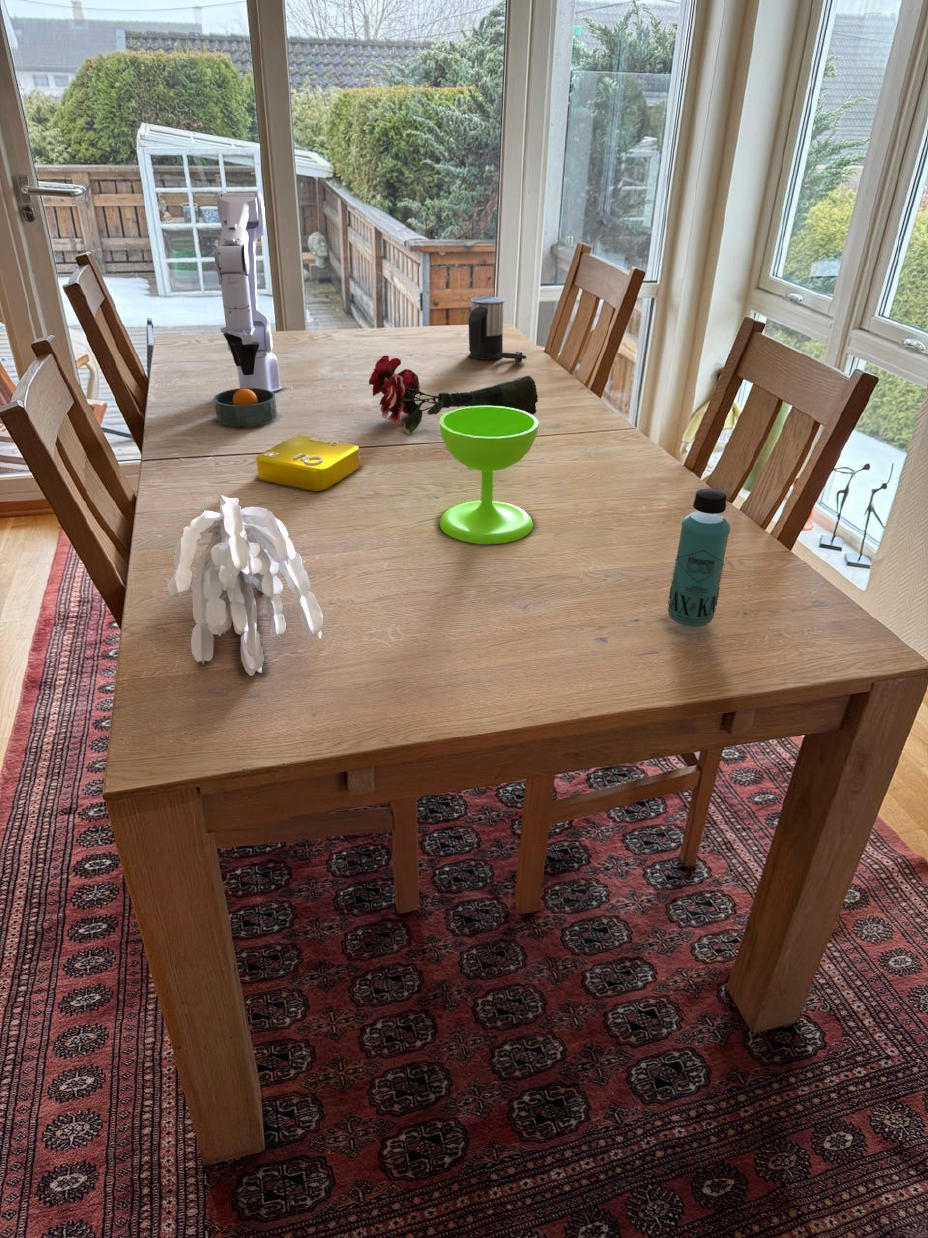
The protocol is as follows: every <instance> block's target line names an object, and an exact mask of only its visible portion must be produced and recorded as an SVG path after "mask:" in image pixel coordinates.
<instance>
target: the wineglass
mask: <svg viewBox="0 0 928 1238" xmlns="http://www.w3.org/2000/svg"><path fill="white" fill-rule="evenodd" d="M438 422H439V428H440V435H441V439H442V442H443V443H444V447H446V449H447V450H448V452H449V453H450V454H451V456H452V457H453V458H454V459H455V460H456V461H457V462H459V463H461V464H462V465H464V466H465V467H467V468H468V469H471V470H475V471H480V472H481V487H480V488H481V489H480V491H481V493H480V495H481V497H480V500H473V501H467V502H462V503H458V504H456V505H454V506H452V507H450V508H448V509H447V510H446V511H445V512H444V513H443V514H442V515H441V518H440V519H439V528H440V529H441V530H442V531H443V533H445V534H446V535H447V536H449V537H450V538H453V539H456V540H458V541H461V542H465V543H470V544H476V545H477V544H478V545H479V544H480V545H500V544H506V543H511V542H514V541H518V540H520V539H522V538H524V537H526V536H528V534H530V533H531V531H532V530H533V527H534V523H533V520H532V518H531V516H530V515H529V514H528V513H527V512H526V511H525V510H524V509H522V508H520V507H519V506H516V505H513V504H511V503H509V502H508V503H507V502H502V501H496V500H493V498H494V496H493V495H494V472H497V471H502V470H503V471H504V470H506V469H508V468H510V467H512V466H514V465H516V464H517V463H518V462H520V461H521V460H522V459H523V458H524V457H525V456H526V455H527V454H528V453H529V452H530V450H531V448H532V446H533V444H534V443H535V440H536V437H537V434H538V430H539V429H538V428H539V422H540V421H539V420H538V418H537V417H536V416H534V415H532V414H530V413H527V412H525V411H522V410H518V409H515V408H509V407H502V406H463V407H458V408H456V409H452V410H449V411H447V412H446V413H444V414H442V415H441V416H440V418H439V419H438Z"/></svg>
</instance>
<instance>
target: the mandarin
mask: <svg viewBox="0 0 928 1238" xmlns="http://www.w3.org/2000/svg"><path fill="white" fill-rule="evenodd" d="M254 404H258V399H257V396H256V395H255V393H254V392H253V391H251V390H249V389H245V388H243V389H240V390H238V391H237V392H236V393H235V394H234V396H233V405H235V406H240V405H254Z"/></svg>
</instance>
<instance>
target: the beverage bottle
mask: <svg viewBox="0 0 928 1238" xmlns="http://www.w3.org/2000/svg"><path fill="white" fill-rule="evenodd" d="M692 506H693V509H694V510H696V511H693V512H691V513H689V514H688V515H686V516H685V517H684V518H683V519H682V520H681V528H680V529H681V530H680V534H679V541H678V548H677V553H676V557H675V559H674V561H675V563H674V566H673V569H672V572H673V573H672V576H671V577H672V580H671V584H670V588H669V596H668V602H667V605H668V607H667V608H666V609H667V611H668V616H669V618H670V619H671V620H672V621H674V622H675V623H677V624H679V625H682V626H685V627H686V626H687V627H695V628H697V627H703V626H707V625H709V624H711V622H712V621H713V619H714V617H715V613H716V610H717V607H718V601H719V597H720V596H719V595H720V588H721V587H720V586H721V582H722V575H723V569H724V565H725V564H726V563H725V556H726V552H727V547H728V546H727V544H728V540H729V534H730V532H731V524H730V522H729V521H728V520H727V519H726V518H725V517H724V516H723V515H722V513H724V512H725V511H726V509H727V494H726V492H724V491H722V490H721V489H717V488H711V487H707V488H706V487H704V488H700V489H698V490H697V491H696V492H695V497H694V500H693V503H692Z"/></svg>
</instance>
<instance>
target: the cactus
mask: <svg viewBox="0 0 928 1238" xmlns="http://www.w3.org/2000/svg"><path fill="white" fill-rule="evenodd" d="M239 501H240V499H239V498H238V497H227V496H225V495H222V494H221V495H220V496H219V512H216V511H212V510H206V509H205V510H204V511H203V513H202V514H201V515H200V516H197V517H195V518H193V519H192V520H190V524H189V525H188V526H184V527H183V528H182V533H181V536H180V538H179V539H178V540H177V542H176V544H175V552H174V557H173V567H174V570H175V572H174V574H173V575H172V577H171V579H170V581H169V582H168V584H166V587H167V591H168V594H169V595H170V596H176V595H178V597H179V598H180V600H183V594H184V593H186V592H187V591H188V590H189V588H190V589H191V592H192V599H191V602H192V618H193V620H194V622H195V623H196V624H195V625H194V627H193V629H192V631H191V639H190V649H191V656H192V657H193V659H194V660H195V662H197V663H198V662H201V663H202V665H205V662H210V661H211V660H212V659H213V657H214V649H215V648H214V647H215V646H214V641H215V640H214V639H215V638H214V635H217V636H219V637H221V636H222V634H224V635H225V634H226V632H227V631H228V630H230V629H231V627H232V624H233V629H234V632H235V634H237V635H240V645H239V646H240V647H239V648H240V660H241V662H242V663H241V664H242V665H243V668H244V671H245V673H247V674H248V676H250V677H251V676H252V677H253V676H254V675H255V674H256V672H257V673H259V674H262V672H263V671H262V670H263V664H264V661H265V656H264V653H263V647H262V645H261V634H260V632H259V630H257V629H258V626H257V622H258V610H257V602H256V598H255V595H254V592H253V587H252V585H251V584H253V585H254V587H255V588H256V590H258V591H259V592H261V593H263V595H262V599H263V601H264V603H265V608H266V611H267V614H269V615H270V617H271V621H270V623H269V635H270V638H273V639H274V638H277V637H278V639H279V640H281V639H282V635H283V634H284V633H285V631H286V628H287V622H286V618H285V616H284V614H282V612H283V609H284V607H283V600H282V599H281V594H282V593H283V590H284V585H283V582H282V580H281V579H280V578H279V577H278V576H277V573H278V572H279V573H280V575H282V576H283V578H284V581H285V583H286V586H287V588H288V589H289V591H290V593H291V594H292V595H293V596H294V597H295V598H297V599H298V601H299V606H300V608H299V616H300V621H301V629H302V632H303V634H304V636H305V637H306V639H307V640H309V641H312V639H313V638H314V637H315V636H316V637H317V638H318V639H322V635H323V634H322V628H323V623H324V616H323V612H322V611H323V610H322V609H321V607H320V605H319V602H318V600H317V597H316V596H315V594H314V593H313V592H311V591H310V590H311V588H312V585H311V582H310V578H309V574H308V571H307V569H306V568H305V567H304V563H303V558H302V555H300V553H299V552H297V551H295V547H294V543H293V542H292V540H291V539H290V537H289V532H288V530H287V527H286V526H285V525H284V523H283V521H282V520H281V519H278V518H276V517H275V515H274V513H273V512H272V511H271V510H268V509H267V508H266V507H261V506H246V507H244V508H241V505H240V504H239ZM208 534H211V537H210V541H209V542H208V545H207V547H206V548H205V550H204V552H202V553H201V555H200V557H199V559H198V561H197V562H196V564H195V577H194V578H193V576H194V575H193V571H192V570H191V565H192V564H193V562H194V560H195V557H196V554H197V550H198V549H197V548H198V543H200V541H201V540H203V539H206V537H207V535H208ZM192 578H193V579H192Z"/></svg>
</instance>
